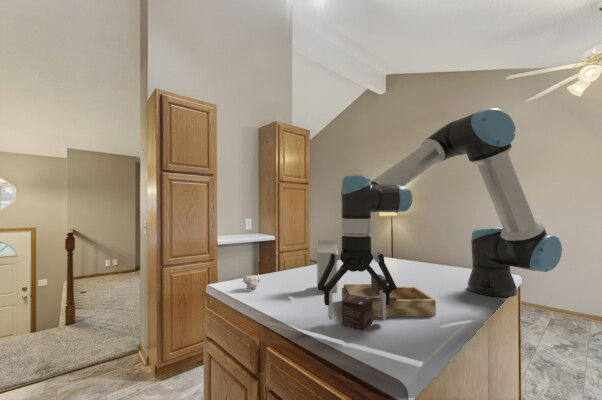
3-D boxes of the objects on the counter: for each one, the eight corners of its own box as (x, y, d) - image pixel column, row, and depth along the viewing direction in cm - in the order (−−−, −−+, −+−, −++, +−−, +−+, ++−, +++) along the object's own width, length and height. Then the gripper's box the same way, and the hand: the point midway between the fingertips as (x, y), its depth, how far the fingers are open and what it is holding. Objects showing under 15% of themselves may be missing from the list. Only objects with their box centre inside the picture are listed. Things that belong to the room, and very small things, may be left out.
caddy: (415, 302, 94) (414, 286, 94) (435, 318, 80) (435, 300, 80) (341, 303, 93) (341, 287, 94) (349, 319, 79) (349, 301, 80)
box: (352, 321, 78) (351, 294, 78) (373, 326, 75) (372, 298, 75) (341, 329, 73) (341, 300, 74) (363, 334, 70) (363, 304, 70)
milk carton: (337, 294, 103) (336, 241, 103) (317, 293, 104) (316, 241, 105) (338, 289, 110) (337, 239, 110) (320, 288, 111) (319, 239, 112)
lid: (380, 286, 94) (380, 271, 94) (396, 300, 79) (395, 283, 80) (343, 286, 94) (343, 272, 94) (352, 301, 79) (352, 283, 79)
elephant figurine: (245, 293, 105) (245, 277, 106) (240, 288, 113) (240, 272, 113) (263, 291, 108) (263, 275, 109) (257, 286, 116) (257, 271, 116)
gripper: (398, 233, 79) (399, 312, 78) (307, 233, 78) (307, 312, 78) (409, 236, 71) (410, 323, 70) (308, 236, 71) (308, 323, 70)
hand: (356, 317), depth 74 cm, fingers open, 13 cm apart
